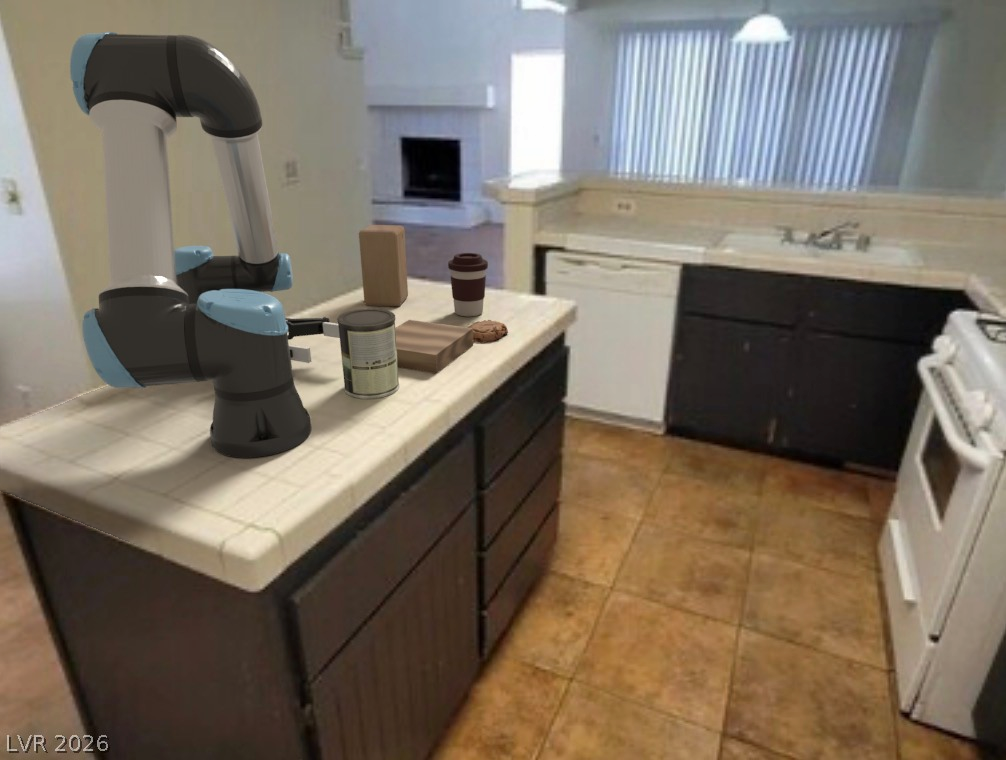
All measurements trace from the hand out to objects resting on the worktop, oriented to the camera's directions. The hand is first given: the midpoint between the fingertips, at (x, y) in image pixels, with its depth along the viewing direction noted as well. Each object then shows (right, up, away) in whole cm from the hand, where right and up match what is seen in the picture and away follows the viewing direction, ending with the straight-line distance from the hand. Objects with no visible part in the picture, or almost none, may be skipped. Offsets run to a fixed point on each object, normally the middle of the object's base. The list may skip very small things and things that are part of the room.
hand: (331, 343), depth 121 cm
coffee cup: (+24, +10, +45) cm, 52 cm away
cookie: (+29, +3, +29) cm, 41 cm away
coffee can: (+8, -9, 0) cm, 12 cm away
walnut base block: (+15, -1, +17) cm, 23 cm away
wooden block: (+1, +14, +54) cm, 56 cm away
